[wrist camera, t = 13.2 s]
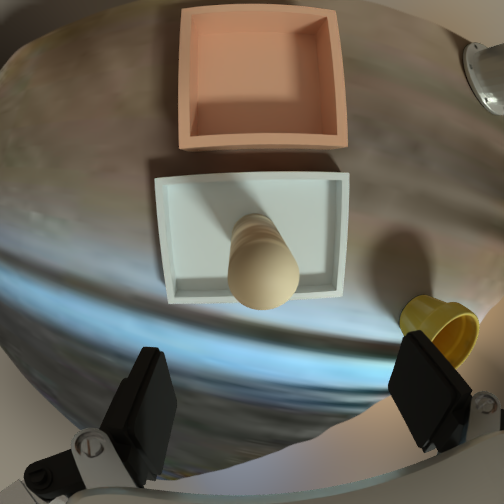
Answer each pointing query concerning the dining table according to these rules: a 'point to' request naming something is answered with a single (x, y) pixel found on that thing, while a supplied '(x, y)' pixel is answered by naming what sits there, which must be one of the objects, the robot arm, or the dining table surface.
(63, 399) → the dining table surface
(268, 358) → the dining table surface
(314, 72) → the peach square hollow box
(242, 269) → the maple peg
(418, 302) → the plant pot
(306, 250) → the grey tray
